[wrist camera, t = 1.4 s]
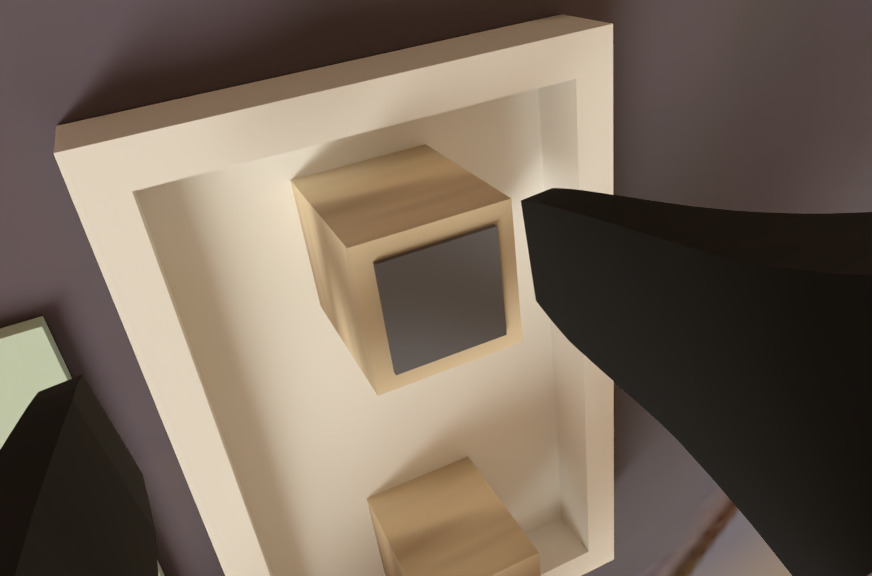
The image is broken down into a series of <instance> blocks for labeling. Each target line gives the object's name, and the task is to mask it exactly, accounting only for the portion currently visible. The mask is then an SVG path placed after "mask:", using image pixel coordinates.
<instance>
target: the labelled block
mask: <svg viewBox="0 0 872 576" xmlns="http://www.w3.org/2000/svg"><path fill="white" fill-rule="evenodd" d="M290 181H291V185H292V189H293V193H294V198H295V202H296V206H297V210H298V214H299V218H300V223H301V227H302V231H303V235H304V239H305V243H306V248H307V252H308V256H309V260H310V264H311V268H312V273H313V277H314V281H315V285H316V289H317V293H318V298H319V302H320V306H321V308H322V309H323V311H324V312H325V314H326V315H327V317H328V319H329V320H330V322H331V323H332V325H333V326H334V328H335V330H336V331H337V333H338V334H339V336H340V337H341V339H342V341H343V342H344V344H345V345H346V347H347V348H348V350H349V351H350V353H351V355H352V356H353V358H354V359H355V361H356V362H357V364H358V366H359V367H360V369H361V370H362V372H363V373H364V375H365V377H366V378H367V380H368V381H369V383H370V384H371V386H372V388H373V389H374V391H375V392H376V394H377V395H378V396H379V395H382V394H384V393H387V392H390V391H392V390H395V389H398V388H400V387H403V386H406V385H408V384H411V383H414V382H416V381H419V380H422V379H424V378H427V377H430V376H432V375H435V374H438V373H441V372H443V371H446V370H449V369H451V368H454V367H457V366H459V365H462V364H465V363H467V362H470V361H473V360H475V359H478V358H481V357H483V356H486V355H489V354H491V353H494V352H497V351H499V350H502V349H505V348H507V347H510V346H513V345H515V344H518V343H521V342H522V329H521V316H520V303H519V290H518V277H517V265H516V252H515V239H514V226H513V213H512V200H511V198H510V197H508V196H507V195H505V194H504V193H502V192H500V191H499V190H497V189H496V188H494V187H492V186H491V185H489V184H488V183H486V182H485V181H483V180H481V179H480V178H478V177H477V176H475V175H473V174H472V173H470V172H469V171H467V170H465V169H464V168H462V167H461V166H459V165H458V164H456V163H454V162H453V161H451V160H450V159H448V158H446V157H445V156H443V155H442V154H440V153H439V152H437V151H435V150H434V149H432V148H431V147H429V146H427V145H426V144H424V145H420V146H417V147H413V148H409V149H405V150H402V151H398V152H394V153H390V154H387V155H383V156H379V157H375V158H372V159H368V160H364V161H361V162H357V163H353V164H349V165H346V166H342V167H338V168H334V169H331V170H327V171H323V172H319V173H316V174H312V175H308V176H304V177H301V178H297V179H293V180H290Z"/></svg>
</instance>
